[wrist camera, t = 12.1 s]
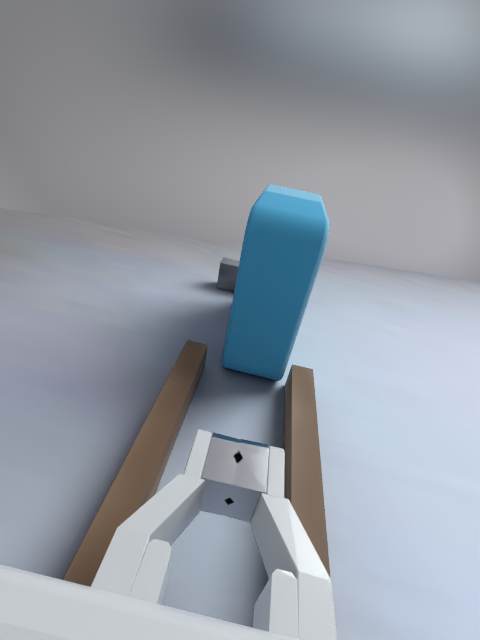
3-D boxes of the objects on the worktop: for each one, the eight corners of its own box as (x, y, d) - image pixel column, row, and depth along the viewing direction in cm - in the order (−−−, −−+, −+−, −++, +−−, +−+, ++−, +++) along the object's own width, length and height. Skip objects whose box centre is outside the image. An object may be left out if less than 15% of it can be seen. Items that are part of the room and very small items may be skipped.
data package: (244, 301, 32) (269, 181, 26) (286, 311, 32) (321, 192, 26) (218, 376, 22) (248, 208, 16) (278, 391, 22) (333, 227, 16)
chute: (-43, 801, 8) (-92, 802, 6) (219, 281, 35) (223, 257, 34) (345, 916, 7) (400, 951, 6) (304, 300, 35) (311, 277, 33)
